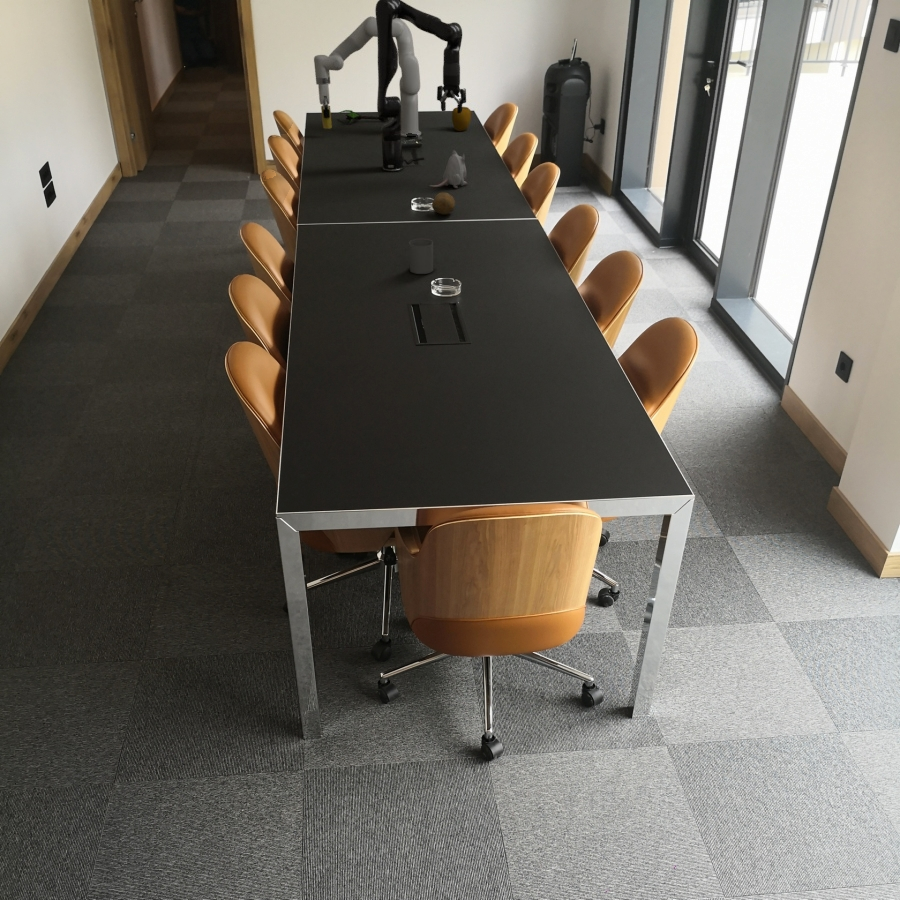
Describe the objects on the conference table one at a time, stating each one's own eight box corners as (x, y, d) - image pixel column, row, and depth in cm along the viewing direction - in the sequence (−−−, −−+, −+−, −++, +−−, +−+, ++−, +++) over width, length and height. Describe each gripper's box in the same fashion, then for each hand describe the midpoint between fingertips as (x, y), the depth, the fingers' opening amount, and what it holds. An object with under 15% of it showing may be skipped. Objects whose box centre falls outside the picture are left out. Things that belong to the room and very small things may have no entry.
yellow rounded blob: (471, 132, 486) (471, 108, 479) (451, 132, 486) (451, 108, 479) (470, 128, 495) (471, 104, 488) (452, 128, 495) (452, 104, 488)
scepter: (388, 107, 510) (337, 105, 507) (388, 120, 503) (336, 118, 500) (388, 116, 515) (337, 114, 512) (388, 129, 507) (337, 127, 505)
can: (321, 128, 471) (319, 106, 465) (326, 126, 475) (324, 105, 469) (328, 129, 469) (326, 107, 463) (333, 127, 473) (331, 105, 467)
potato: (453, 208, 369) (453, 189, 365) (456, 218, 357) (456, 199, 353) (431, 208, 368) (430, 189, 364) (432, 218, 356) (432, 199, 352)
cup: (409, 265, 311) (408, 238, 306) (432, 265, 312) (431, 238, 307) (410, 274, 304) (409, 246, 299) (433, 273, 305) (433, 246, 299)
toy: (472, 184, 399) (472, 151, 391) (436, 195, 384) (436, 161, 376) (457, 180, 404) (458, 147, 396) (422, 191, 389) (421, 157, 381)
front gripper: (469, 73, 381) (469, 112, 390) (443, 70, 388) (443, 108, 396) (460, 76, 376) (460, 115, 384) (433, 72, 382) (433, 111, 391)
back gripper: (315, 78, 465) (318, 113, 475) (317, 84, 451) (320, 120, 461) (329, 77, 467) (332, 113, 476) (331, 83, 453) (334, 119, 462)
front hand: (451, 112), depth 390 cm, fingers open, 8 cm apart
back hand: (326, 116), depth 469 cm, fingers closed on can, 4 cm apart
